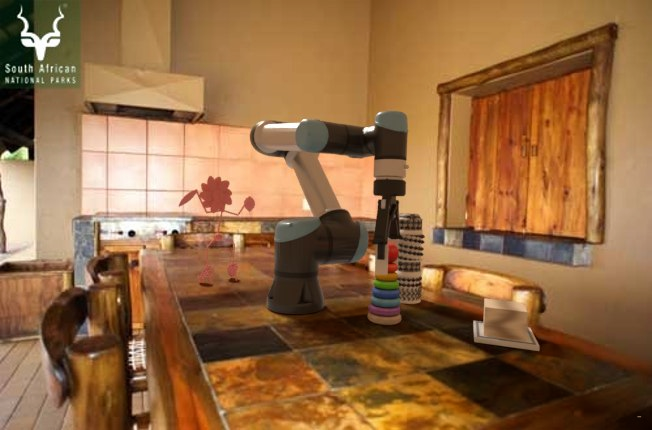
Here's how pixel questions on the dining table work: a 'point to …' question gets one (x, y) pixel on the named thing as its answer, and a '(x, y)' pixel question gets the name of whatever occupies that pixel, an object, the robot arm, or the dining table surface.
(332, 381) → the dining table surface
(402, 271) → the decorative candle
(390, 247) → the stacking toy
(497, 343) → the board
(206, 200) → the figurine
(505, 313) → the birch block
